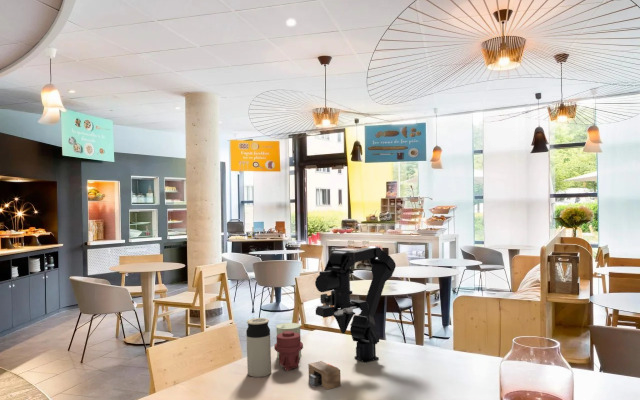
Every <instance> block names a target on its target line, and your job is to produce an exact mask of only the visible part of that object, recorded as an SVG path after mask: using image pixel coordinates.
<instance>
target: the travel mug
mask: <svg viewBox="0 0 640 400" xmlns="http://www.w3.org/2000/svg"><path fill="white" fill-rule="evenodd" d="M269 322H270V319H269V318H265V317H256V318H250V319H248V320H247V321H246V323H247V328H246V335H245V336H246V360H247V362H246V364H247V366H246V368H247V375H248V376H250V377H254V378H261V377H262V378H263V377H266V376H268V375H270V374H272V356H271V355H272V354H271V353H272V351H271V350H272V349H271V328H270V326H269Z"/></svg>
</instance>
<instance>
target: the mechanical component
mask: <svg viewBox="0 0 640 400" xmlns="http://www.w3.org/2000/svg"><path fill="white" fill-rule="evenodd" d="M275 336H276V343H275V344H274V347H273V348H274V351H276V353H277V352H279V359H278V363H279V364H278V365H280V366H282V367H283V368H284V370H285V371H287V372H288V371H290V370H293V369H294V368H298V367H299V364H300V358H299V351H300V350H301V351H302V350H303V349H304V343H303V342H302V341H300V338H301V333H300V334H298V333H295V332H293V331H285V332H283V333H281V334H278V335H277V334H276V335H275Z"/></svg>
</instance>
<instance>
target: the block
mask: <svg viewBox="0 0 640 400" xmlns="http://www.w3.org/2000/svg"><path fill="white" fill-rule="evenodd" d="M329 364H330V363H326V362H325V361H324V360H323V361H322V360H319V361H314V362H310V363H308V366H307V367H308V376H309V375H311V374H315V373H320V374H322V385H321V387H322V388H324V389H325V390H331V389H335V388H338V387H342V383H341V381H342V379H341V378H342V377H341V369H337V368H338V367H337V368H335V367H336V366H335V367H333V366H334V365H333V366H331V365H332V364H330V365H329Z"/></svg>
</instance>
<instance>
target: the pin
mask: <svg viewBox="0 0 640 400" xmlns="http://www.w3.org/2000/svg"><path fill="white" fill-rule="evenodd" d="M328 364H329V365H331V366H333V367H335V368H337V369H339V367H337V366H335V365H332V364H330V363H328ZM308 381H309V386H312V387H314V388H316V387H319V386H320V387H322V374H320V373H315V374H311V375H309V374H308Z"/></svg>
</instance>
